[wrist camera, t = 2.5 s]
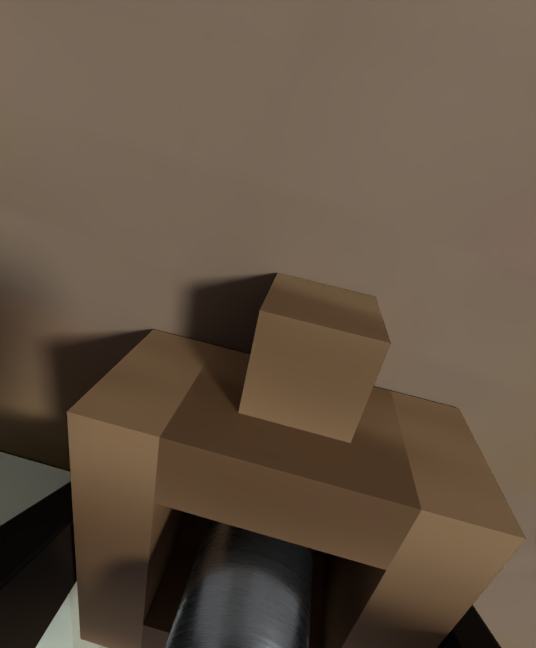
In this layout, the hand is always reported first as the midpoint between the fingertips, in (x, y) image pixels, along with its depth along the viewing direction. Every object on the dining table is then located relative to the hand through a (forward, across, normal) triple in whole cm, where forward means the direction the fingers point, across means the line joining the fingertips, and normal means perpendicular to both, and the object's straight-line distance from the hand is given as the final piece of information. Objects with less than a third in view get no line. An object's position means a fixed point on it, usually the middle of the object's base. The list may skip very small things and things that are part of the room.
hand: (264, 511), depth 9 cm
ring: (+1, 0, 0) cm, 1 cm away
